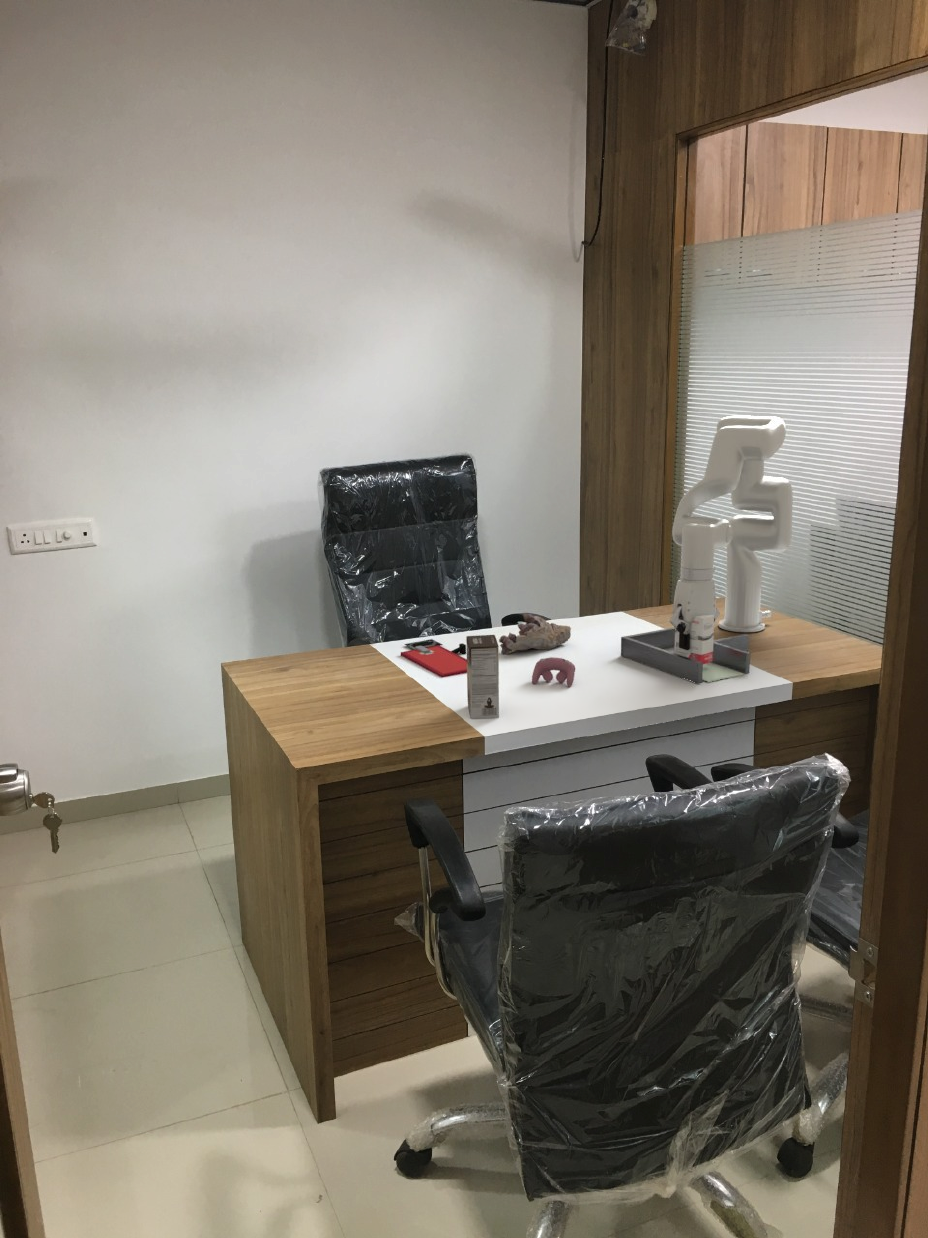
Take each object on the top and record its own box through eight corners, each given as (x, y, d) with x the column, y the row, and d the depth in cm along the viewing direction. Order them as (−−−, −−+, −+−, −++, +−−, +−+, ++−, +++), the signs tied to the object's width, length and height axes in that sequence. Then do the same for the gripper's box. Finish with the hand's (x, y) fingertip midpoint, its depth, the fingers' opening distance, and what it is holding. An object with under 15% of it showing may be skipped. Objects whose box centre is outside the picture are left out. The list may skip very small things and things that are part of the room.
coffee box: (466, 705, 222) (465, 635, 218) (495, 704, 223) (494, 634, 219) (470, 719, 213) (469, 646, 209) (500, 718, 214) (499, 645, 210)
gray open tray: (703, 639, 271) (703, 621, 270) (784, 664, 248) (785, 645, 246) (620, 655, 258) (621, 637, 256) (698, 684, 234) (699, 663, 233)
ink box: (713, 661, 245) (715, 614, 242) (700, 665, 242) (702, 618, 239) (686, 654, 251) (687, 608, 248) (672, 658, 248) (674, 611, 245)
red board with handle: (438, 641, 275) (388, 650, 268) (437, 631, 274) (387, 640, 267) (495, 670, 250) (442, 680, 242) (495, 659, 249) (441, 669, 242)
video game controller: (575, 689, 237) (578, 660, 238) (571, 686, 232) (574, 656, 234) (534, 686, 240) (537, 657, 241) (529, 683, 235) (533, 653, 237)
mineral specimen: (524, 641, 253) (508, 608, 257) (501, 662, 259) (486, 629, 264) (579, 639, 267) (564, 608, 271) (556, 659, 273) (541, 629, 277)
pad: (709, 664, 249) (709, 662, 249) (742, 675, 240) (742, 673, 240) (676, 671, 244) (676, 669, 244) (708, 682, 235) (708, 681, 235)
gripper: (712, 567, 248) (709, 638, 253) (658, 575, 240) (656, 648, 245) (734, 572, 242) (730, 645, 247) (680, 581, 234) (677, 656, 238)
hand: (693, 646), depth 246 cm, fingers closed on ink box, 5 cm apart
